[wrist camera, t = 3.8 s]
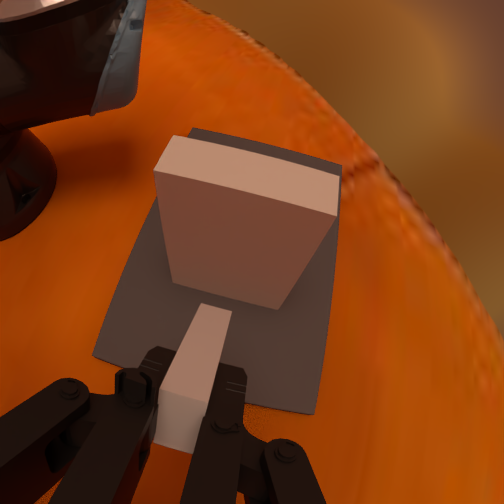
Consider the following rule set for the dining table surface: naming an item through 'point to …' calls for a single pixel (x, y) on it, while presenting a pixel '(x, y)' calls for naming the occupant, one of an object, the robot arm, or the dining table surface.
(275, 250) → the tile
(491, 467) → the dining table surface
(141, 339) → the mat
